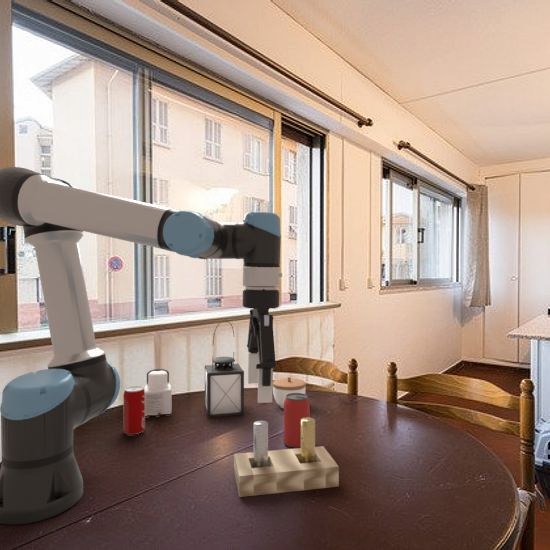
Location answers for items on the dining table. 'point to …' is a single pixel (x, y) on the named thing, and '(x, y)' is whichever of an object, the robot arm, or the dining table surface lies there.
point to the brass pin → (307, 440)
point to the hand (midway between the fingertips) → (259, 392)
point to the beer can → (294, 417)
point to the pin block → (285, 472)
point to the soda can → (134, 410)
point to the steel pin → (260, 444)
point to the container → (158, 393)
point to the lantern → (224, 387)
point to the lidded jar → (287, 388)
